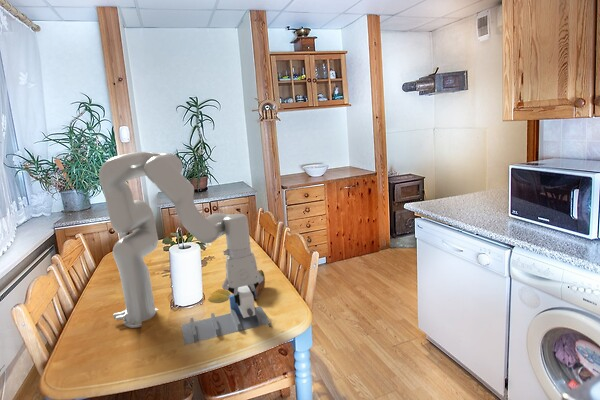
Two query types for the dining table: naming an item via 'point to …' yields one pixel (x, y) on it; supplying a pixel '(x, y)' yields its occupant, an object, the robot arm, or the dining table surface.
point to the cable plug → (246, 301)
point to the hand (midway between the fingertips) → (245, 302)
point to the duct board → (223, 324)
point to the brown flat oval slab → (260, 286)
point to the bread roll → (219, 296)
